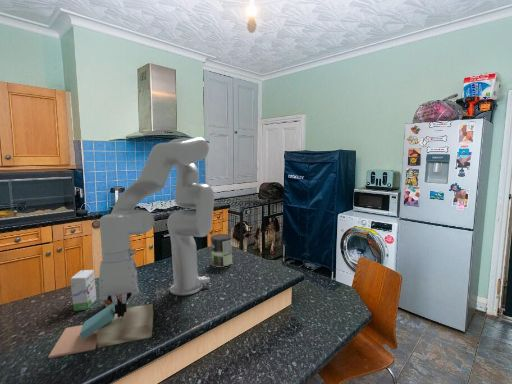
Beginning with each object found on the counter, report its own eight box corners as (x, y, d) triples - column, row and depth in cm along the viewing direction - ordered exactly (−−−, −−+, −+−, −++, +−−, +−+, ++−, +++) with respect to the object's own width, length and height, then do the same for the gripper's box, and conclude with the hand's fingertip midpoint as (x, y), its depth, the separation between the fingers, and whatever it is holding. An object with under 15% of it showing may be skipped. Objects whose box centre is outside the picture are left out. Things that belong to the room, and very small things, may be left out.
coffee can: (212, 269, 137) (211, 240, 136) (210, 262, 147) (209, 235, 146) (234, 266, 139) (233, 238, 138) (230, 259, 149) (229, 233, 148)
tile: (116, 308, 89) (112, 303, 89) (114, 318, 83) (110, 313, 82) (88, 327, 87) (84, 322, 86) (83, 339, 80) (79, 334, 80)
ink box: (88, 309, 101) (85, 277, 100) (72, 311, 100) (69, 278, 99) (97, 298, 109) (94, 268, 108) (83, 300, 109) (80, 270, 108)
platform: (153, 315, 96) (152, 303, 95) (151, 337, 84) (150, 324, 83) (106, 323, 92) (105, 311, 91) (97, 347, 79) (96, 333, 79)
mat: (105, 322, 92) (105, 321, 92) (95, 349, 79) (95, 347, 79) (66, 329, 89) (65, 327, 89) (48, 358, 75) (48, 356, 75)
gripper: (144, 249, 91) (148, 305, 92) (91, 255, 86) (96, 313, 88) (143, 256, 84) (147, 316, 85) (84, 263, 79) (90, 326, 81)
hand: (121, 314), depth 87 cm, fingers closed
